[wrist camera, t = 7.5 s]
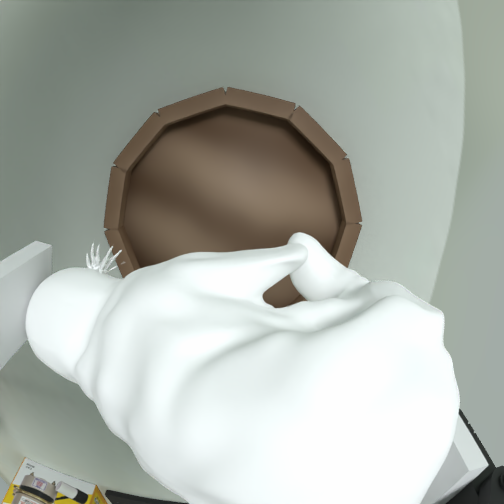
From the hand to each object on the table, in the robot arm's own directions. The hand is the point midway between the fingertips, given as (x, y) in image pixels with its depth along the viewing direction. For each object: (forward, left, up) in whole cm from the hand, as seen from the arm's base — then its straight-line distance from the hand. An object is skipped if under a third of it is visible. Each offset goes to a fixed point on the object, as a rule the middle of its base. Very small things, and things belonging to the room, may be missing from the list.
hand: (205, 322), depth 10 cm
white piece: (0, 0, -2) cm, 2 cm away
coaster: (0, 0, -14) cm, 14 cm away
